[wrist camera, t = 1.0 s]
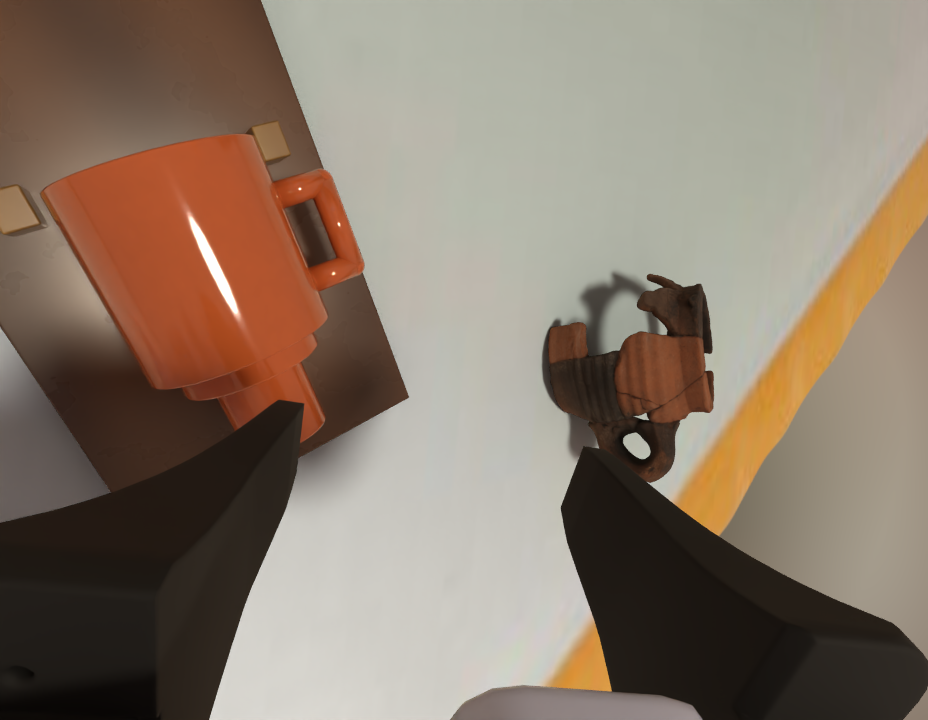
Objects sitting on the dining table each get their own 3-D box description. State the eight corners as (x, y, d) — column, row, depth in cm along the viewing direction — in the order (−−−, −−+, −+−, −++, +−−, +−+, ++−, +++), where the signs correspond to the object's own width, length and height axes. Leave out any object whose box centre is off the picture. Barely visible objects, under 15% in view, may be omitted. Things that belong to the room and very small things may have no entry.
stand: (143, 531, 21) (145, 566, 18) (-255, -69, 13) (-335, -137, 11) (400, 392, 26) (427, 406, 23) (215, -95, 18) (228, -146, 16)
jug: (289, 141, 20) (376, 361, 23) (53, 204, 17) (194, 451, 20) (341, 102, 15) (442, 388, 18) (20, 180, 12) (215, 514, 15)
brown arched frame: (537, 275, 30) (694, 251, 26) (586, 301, 38) (710, 286, 34) (546, 490, 29) (711, 499, 25) (594, 469, 37) (724, 473, 33)
